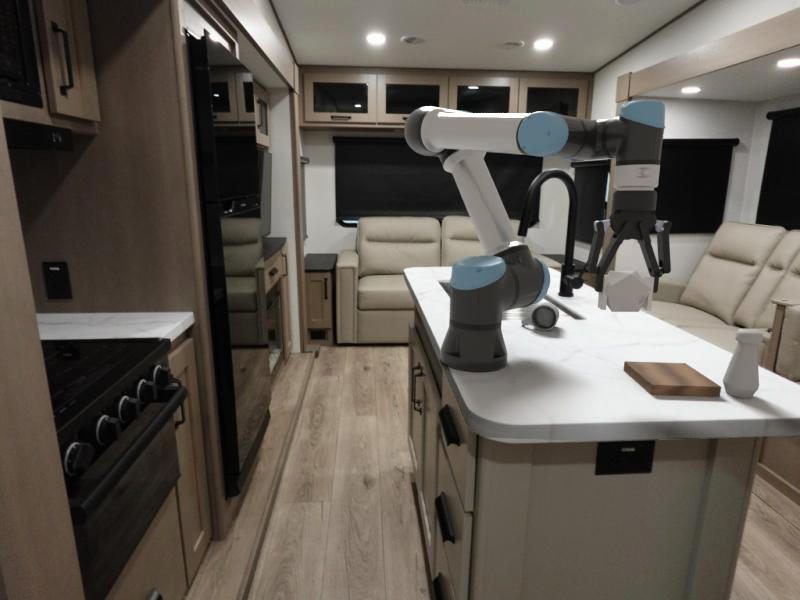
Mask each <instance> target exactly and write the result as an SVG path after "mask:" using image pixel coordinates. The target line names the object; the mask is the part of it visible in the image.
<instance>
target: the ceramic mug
mask: <svg viewBox="0 0 800 600" xmlns="http://www.w3.org/2000/svg"><path fill="white" fill-rule="evenodd" d="M559 318H560V312H559V308H558V307H557V306H556V305H555V304H554V303H551V302H549V301H548V302H546V301H545V302H542V303H540V304H538V305H537V306H535V307H534V308H533V309H532V311H531V312H530V316H528V317H525V318H523V319H521V325H522V326H523V327H524V326H529V325H532V326H533V328H535V329H537V330H539V331H541V330H543V332H545V331H546V332H547V331H550V330H553V328H555V326H556V325H557V324H558V322H559V321H558V320H559Z"/></svg>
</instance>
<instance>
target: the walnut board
mask: <svg viewBox="0 0 800 600" xmlns="http://www.w3.org/2000/svg"><path fill="white" fill-rule="evenodd" d="M623 362H624V363H623V371H624V372H625V373H626V374H627V375H628V376H629V377H630V378H632V379H633V380H634V381H635V382H636V383H637V384H639V386H641V387H642V388H643V389H644V390H645V391H646V392H648V394H650V395H655V396H656V395H657V396H659V395H660V396H685V397H686V396H687V397H688V396H690V397H691V396H692V397H717V398H718V397H721V392H722V385H721V386H720V384H718V383H716V382H715V381H713V380H711V379H710V378H709V377H707V376H706V375H704V374H702V373H701V372H700V371H698V370H696V369H694V368H693V367H692V366H690V365H689V364H687V363H686V362H660V361H658V362H655V361H654V362H653V361H623Z"/></svg>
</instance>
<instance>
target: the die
mask: <svg viewBox="0 0 800 600" xmlns="http://www.w3.org/2000/svg"><path fill="white" fill-rule="evenodd" d="M606 276H608V277H609V281H608V284H607V287H606V289H605V291H606V294H607V304H606V307H608V309H609V310H610V312H613V313H616V312H617V313H621V312H622V313H639V312H640V311H641V307H642V305H643V303H644V301H645V300H646V298H647V296H648V294H649V292H650V290H651V288H650V286H649V285H648V284H647V283H646V282H645V281H644V277H642V276H641V274H639V272H638V270H609V271H608V273H607V275H606ZM597 293H598V294H597V295H599V292H597Z"/></svg>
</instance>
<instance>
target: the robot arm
mask: <svg viewBox="0 0 800 600" xmlns="http://www.w3.org/2000/svg"><path fill="white" fill-rule="evenodd" d="M665 120H666V106H665V103H664V102H663V101H660V100H656V99H641V100H633V101H628V102H625V103H623V104H622V105H621V107H620V110H619V112H618V116H614V117H609V118H599V119H588V118H584V117H583V118H582V117H577V116H570V115H564V114H560V113H557V112H554V111H548V110H547V111H545V110H544V111H543V110H542V111H535V112H532V113H531V112H529V113H525V112H523V113H522V112H521V113H520V112H519V113H517V112H516V113H511V112H510V113H509V112H507V113H504V112H502V113H501V112H500V113H499V112H497V113H494V112H493V113H488V112H487V113H486V112H484V113H483V112H481V113H479V112H478V113H476V112H475V113H473V112H470V111H467V110H456V109H455V110H454V109H451V108H450V109H449V108H445V107H437V106H432V105H429V106H427V105H426V106H421V107H419V108H416V109H415V110H414V111H412V112H411V113H410V114H409V115H408V117H407V119H406V121H405V123H404V138H405V140H406V144H407V145H408V147H409V148H411V150H413V152H415V153H417V154H419V155H422V156H428V157H438V158H439V160H440V162H441V165H442V168H443V170H444V171H445V172H447V173H450V174H452V177H453V179H454V181H455V184H456V187H457V189H458V191H459V193H460V196H461V199H462V201H463V203H464V206H465V208H466V211H467V213H468V215H469V218H470V221H471V223H472V225H473V228H474V231H475V233H476V235H477V238H478V240H479V242H480V245H481V248H482V251H483V252H484V255H479V256H476V255H473V256H466V257H463V258H460V259H458V260H456V261H455V262H454V263H453V264H452V268H451V276H450V279H449V284H450V286H449V287H450V290H449V291H450V292H449V293H450V295H449V320H448V321H449V322H448V328H447V330H446V333H445V337H444V339H443V342H442V344H441V347H440V351H439V352H440V354H439V355H440V356H439V357H440V358H439V359H440V361H441V363H442V364H444V365H446V366H448V367H450V368H452V369H456V370H462V371H467V372H468V371H469V372H490V371H497V370H500V369H503V368H504V367H506V366H507V364H508V351H507V347H506V346H507V345H506V343H505V339H504V335H503V332H502V320H503V312H507V311H511V310H516V309H520V308H521V309H522V308H529V307H531V306H533V305H535V304H538V303H540V302H541V301H542V300H543V299H544V298H545V297H546V296H547V293H548V291H549V288H550V285H551V274H550V270H549V267H548V265H547V264H546V263H545V262H544V261H543V260H542V259H539V258H538V257H536V256H533V254H532V252H531V250H530V248H529V245H528V244H527V243H524V242H521V241H520V240H519V239H518V237H517V234H516V232H515V230H514V226H513V225H512V221H511V220H510V218H509V215H508V213H507V211H506V208H505V206H504V204H503V201H502V199H501V197H500V194H499V192H498V189H497V187H496V185H495V182H494V180H493V178H492V176H491V172H490V171H489V168H488V166H487V164H486V162H485V156H486V154H487V153H498V154H500V153H501V154H511V155H526V156H534V157H537V158H538V157H542V158H559V159H562V160H563V161H566V162H578V163H579V162H584V161H592V160H593V161H595V160H606V159H607V160H608V159H615V166H614V167H615V168H614V179H613V186H612V187H613V188H615V189H616V190H615V191H613V193H612V200H611V214H610V216H609V217H608V218H607V219H605V220H595V221H593V223H592V224H593V225H592V226H593V237H592V240H591V245H590V248H589V253H588V257H587V261H586V264H585V270H586V271H588V272H590V273H592V274H594V288H593V289H594V291H595V292H597V293H599V294H598V298H597V299H598V301H597V308H599V309H600V310H602V311H606V310H607V305H606V304H607V294H606V291H605V289H606V287H607V284H608V281H609V277H608V276H607V275H606V273H607V271H608V270H609V267H610V265H611V263H612V261H613V259H614V258H615V256H616V254H617V252H618V250H619V248H620V247H621V245H622V244H623V242H624V241H629V240H636V241H637V244H638V245H639V247H640V249H641V250H640V251H641V254H642V255H643V259H644V263H645V265H646V268H647V271H648V275H647V274H645V275H644V277H643V279H644V281H645V282H646V283H647V284H648V285H649V286H650V288H651V290H650V292H649V294H648V296H647V298H646V300H645V301H644V303H643V305H642V307H641V308H642V310H645V311H652V302H653V295H654V294H656V293H657V292H658V290H659V282H660V278H662V276H663V275H665V274H670V273H671V271H672V263H671V262H672V260H671V248H670V247H671V246H670V232H671V228H672V225H673V224H672V223H673V222H672V221H669V220H659V219H657V217H656V210H657V201H658V200H657V199H658V192H657V191H656V190H655V188H658V187H659V178H660V168H661V157H662V150H663V149H662V148H663V141H664V134H665V129H666V126H665V125H666V124H665V123H666V122H665ZM608 227H610V229H611V230H612V232H613V233H612V234H611V237H610V238H609V243H608V244H607V246H606V249H605V251H604V252H603V254H602V256H601V258H600V255H601V251H602V246H603V243H604V238H605V233H606V232H607V230H608ZM654 227H655V231H656V243H657V244H656V245H657V257H656V253H655V251H654V248H653V246H652V240H651V236H650V234H649V233H650V232H651V230H652V229H653V228H654ZM599 259H600V260H599Z"/></svg>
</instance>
